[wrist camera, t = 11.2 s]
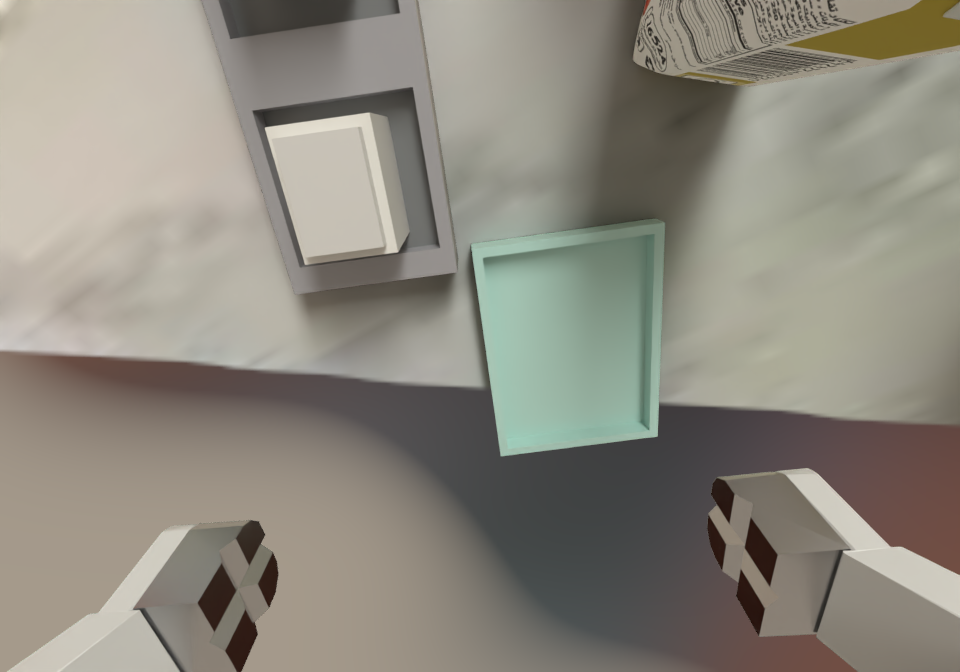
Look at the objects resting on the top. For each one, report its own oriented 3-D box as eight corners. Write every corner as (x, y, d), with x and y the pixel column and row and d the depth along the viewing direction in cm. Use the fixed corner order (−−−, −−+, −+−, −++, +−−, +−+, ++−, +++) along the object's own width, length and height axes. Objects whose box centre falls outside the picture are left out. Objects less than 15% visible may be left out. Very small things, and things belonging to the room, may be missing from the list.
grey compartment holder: (372, -298, 19) (317, -557, 12) (458, 258, 29) (456, 298, 22) (152, -261, 19) (-32, -494, 12) (311, 278, 29) (262, 325, 22)
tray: (655, 218, 28) (665, 222, 27) (649, 424, 34) (657, 436, 33) (471, 243, 28) (471, 249, 27) (499, 443, 35) (500, 456, 33)
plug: (387, 116, 24) (365, 111, 18) (409, 231, 26) (395, 256, 21) (303, 129, 24) (256, 127, 18) (332, 242, 26) (299, 269, 21)
